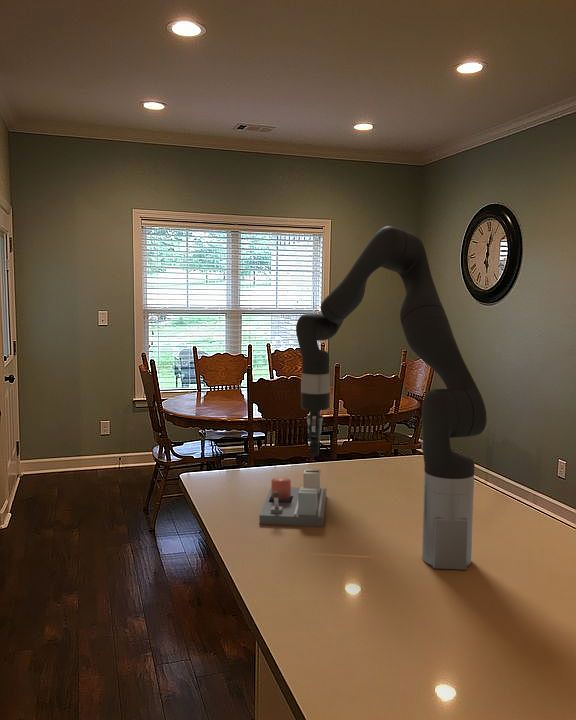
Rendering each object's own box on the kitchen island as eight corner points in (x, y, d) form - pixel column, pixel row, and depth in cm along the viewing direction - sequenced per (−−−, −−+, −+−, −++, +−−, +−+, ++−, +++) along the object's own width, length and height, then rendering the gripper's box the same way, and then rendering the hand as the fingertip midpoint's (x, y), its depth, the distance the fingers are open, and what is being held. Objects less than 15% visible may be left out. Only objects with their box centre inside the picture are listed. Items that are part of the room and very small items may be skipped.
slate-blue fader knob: (316, 515, 142) (316, 492, 142) (298, 515, 142) (298, 492, 142) (317, 509, 146) (317, 487, 146) (299, 509, 146) (299, 486, 146)
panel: (322, 526, 141) (322, 495, 140) (259, 524, 142) (259, 492, 142) (326, 496, 163) (326, 468, 162) (271, 494, 164) (271, 466, 164)
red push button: (289, 500, 151) (289, 482, 151) (270, 499, 152) (270, 482, 151) (291, 494, 156) (291, 477, 155) (272, 493, 156) (272, 476, 156)
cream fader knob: (319, 493, 158) (319, 473, 157) (303, 493, 158) (303, 472, 158) (320, 489, 162) (320, 468, 161) (304, 488, 162) (304, 468, 162)
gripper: (328, 394, 160) (327, 463, 162) (330, 387, 173) (329, 450, 175) (298, 394, 161) (298, 462, 162) (302, 386, 174) (302, 449, 176)
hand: (314, 455), depth 169 cm, fingers closed
